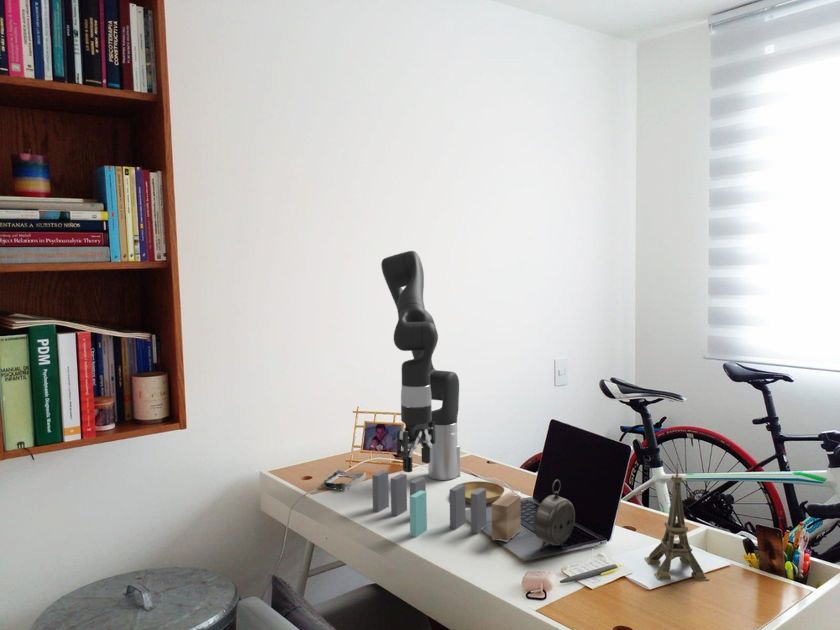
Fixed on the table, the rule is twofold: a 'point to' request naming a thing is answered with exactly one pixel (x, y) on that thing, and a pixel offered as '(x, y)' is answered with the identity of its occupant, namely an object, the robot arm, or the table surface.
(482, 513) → the domino
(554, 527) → the alarm clock
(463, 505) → the domino
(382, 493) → the domino
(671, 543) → the eiffel tower
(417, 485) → the domino
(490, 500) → the plant saucer
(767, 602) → the table surface
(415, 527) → the domino
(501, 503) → the end block
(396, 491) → the domino
